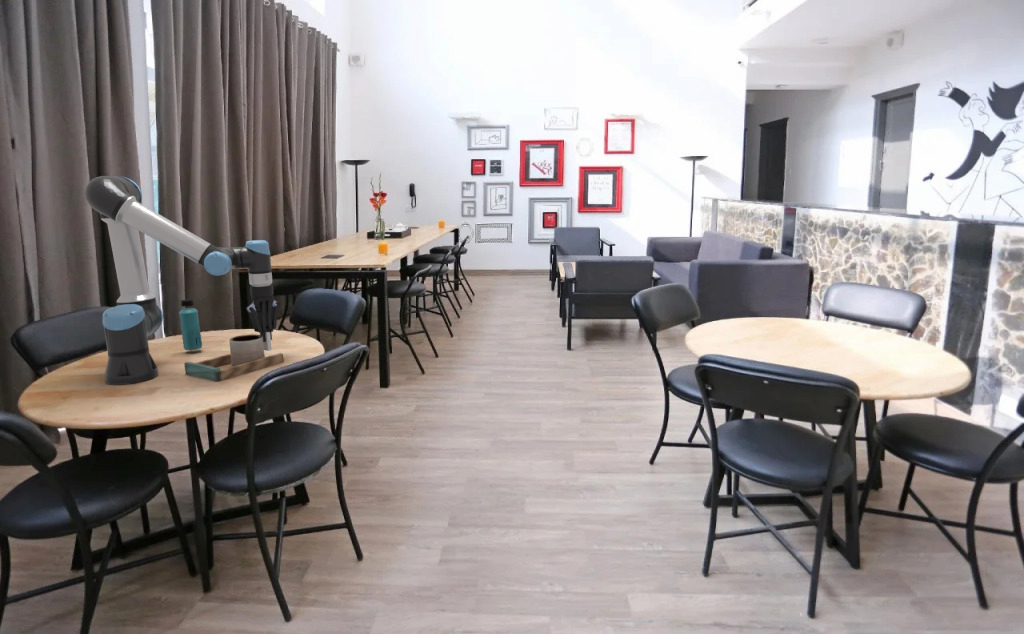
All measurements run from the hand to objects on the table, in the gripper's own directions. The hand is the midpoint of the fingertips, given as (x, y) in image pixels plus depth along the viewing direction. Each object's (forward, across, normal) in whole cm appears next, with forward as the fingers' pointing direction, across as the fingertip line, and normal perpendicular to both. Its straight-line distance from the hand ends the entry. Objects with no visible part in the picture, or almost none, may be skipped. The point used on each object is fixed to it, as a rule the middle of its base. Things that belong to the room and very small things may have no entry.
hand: (267, 349), depth 235 cm
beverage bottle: (+4, -7, +33) cm, 34 cm away
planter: (+4, -8, 0) cm, 9 cm away
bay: (+3, -13, 0) cm, 14 cm away
